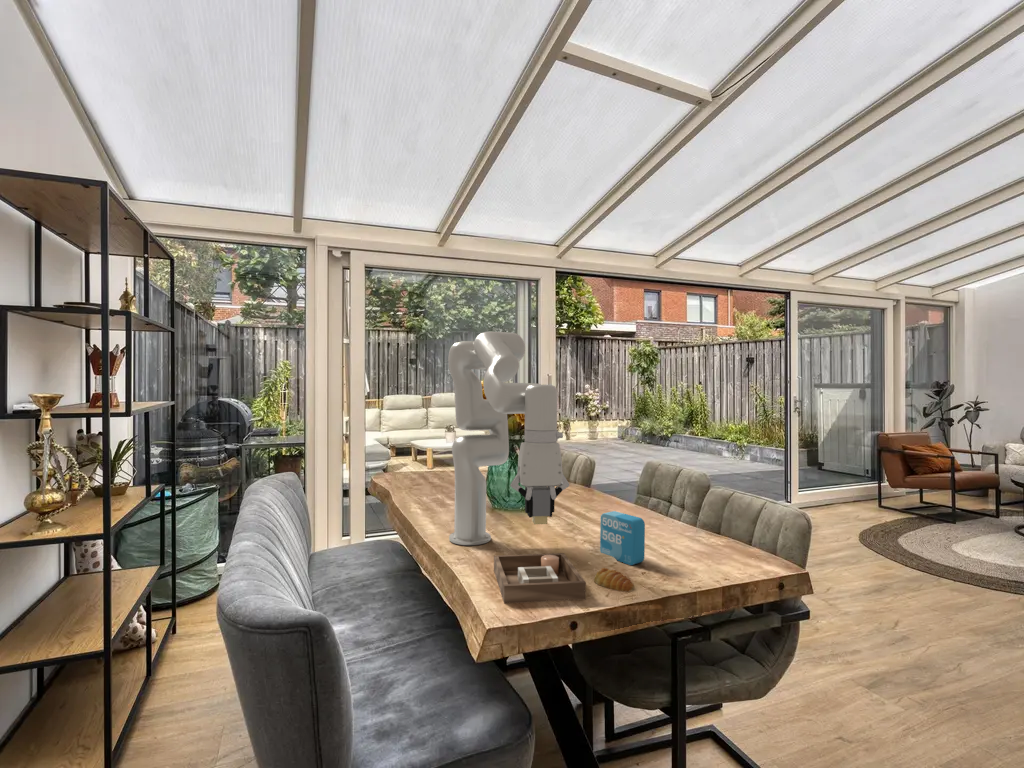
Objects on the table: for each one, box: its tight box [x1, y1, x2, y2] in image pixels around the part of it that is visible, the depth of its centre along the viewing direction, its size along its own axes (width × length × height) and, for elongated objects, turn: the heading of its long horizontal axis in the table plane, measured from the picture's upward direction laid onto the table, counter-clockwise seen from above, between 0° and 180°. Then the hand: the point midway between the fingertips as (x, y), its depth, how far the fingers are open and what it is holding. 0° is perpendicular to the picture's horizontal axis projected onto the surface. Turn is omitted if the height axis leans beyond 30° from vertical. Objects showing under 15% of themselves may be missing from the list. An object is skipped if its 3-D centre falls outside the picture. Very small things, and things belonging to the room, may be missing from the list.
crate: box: [493, 552, 587, 604], centre depth 127 cm, size 20×18×4 cm
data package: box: [599, 510, 646, 566], centre depth 147 cm, size 12×4×12 cm, turn 39°
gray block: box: [531, 487, 550, 525], centre depth 126 cm, size 4×4×8 cm
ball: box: [541, 555, 559, 576], centre depth 133 cm, size 4×4×4 cm
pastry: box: [593, 567, 635, 592], centre depth 127 cm, size 9×7×4 cm
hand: (539, 514), depth 126 cm, fingers closed on gray block, 4 cm apart
